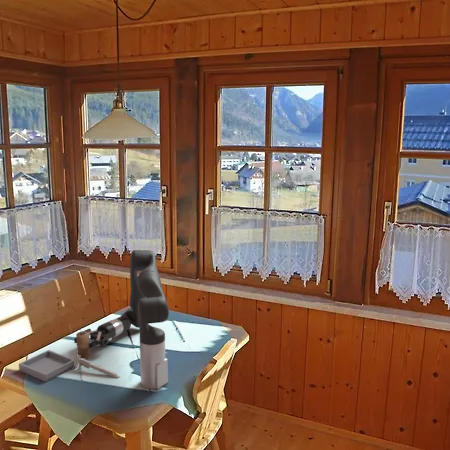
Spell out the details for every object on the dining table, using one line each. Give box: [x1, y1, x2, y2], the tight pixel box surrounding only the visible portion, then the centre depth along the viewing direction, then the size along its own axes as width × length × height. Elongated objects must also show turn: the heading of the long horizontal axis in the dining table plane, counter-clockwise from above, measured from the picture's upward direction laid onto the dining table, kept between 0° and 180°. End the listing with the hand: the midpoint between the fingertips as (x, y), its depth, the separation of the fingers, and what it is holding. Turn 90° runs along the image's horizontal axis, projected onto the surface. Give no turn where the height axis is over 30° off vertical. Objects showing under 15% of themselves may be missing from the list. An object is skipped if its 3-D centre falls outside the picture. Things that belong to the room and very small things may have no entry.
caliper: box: [73, 353, 121, 379], centre depth 185 cm, size 20×1×6 cm, turn 70°
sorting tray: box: [18, 349, 75, 383], centre depth 188 cm, size 16×14×3 cm
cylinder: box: [75, 330, 91, 360], centre depth 198 cm, size 5×5×10 cm
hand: (81, 343), depth 197 cm, fingers open, 8 cm apart
